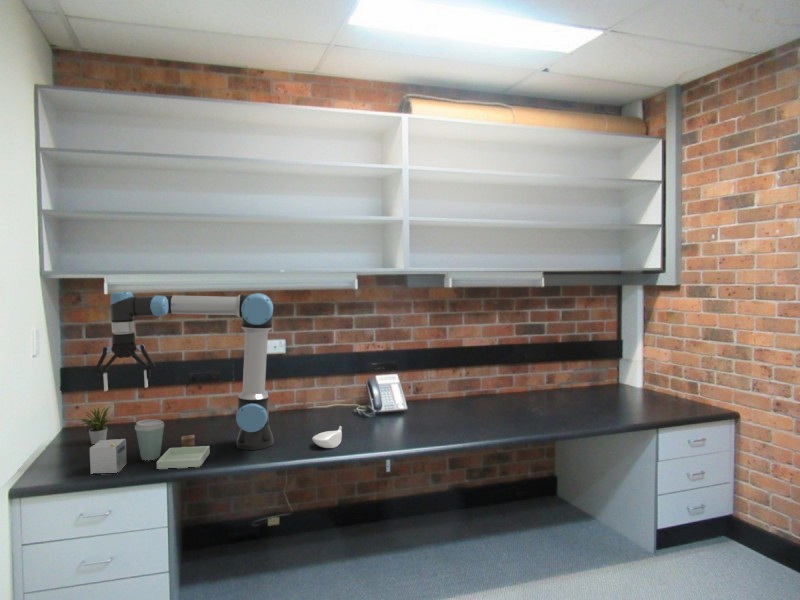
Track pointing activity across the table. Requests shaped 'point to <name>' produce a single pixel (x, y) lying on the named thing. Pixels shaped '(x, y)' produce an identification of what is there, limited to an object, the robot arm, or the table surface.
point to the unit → (108, 456)
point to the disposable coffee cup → (149, 438)
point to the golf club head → (328, 438)
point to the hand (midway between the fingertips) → (126, 388)
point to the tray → (183, 457)
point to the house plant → (97, 425)
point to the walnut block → (188, 441)
